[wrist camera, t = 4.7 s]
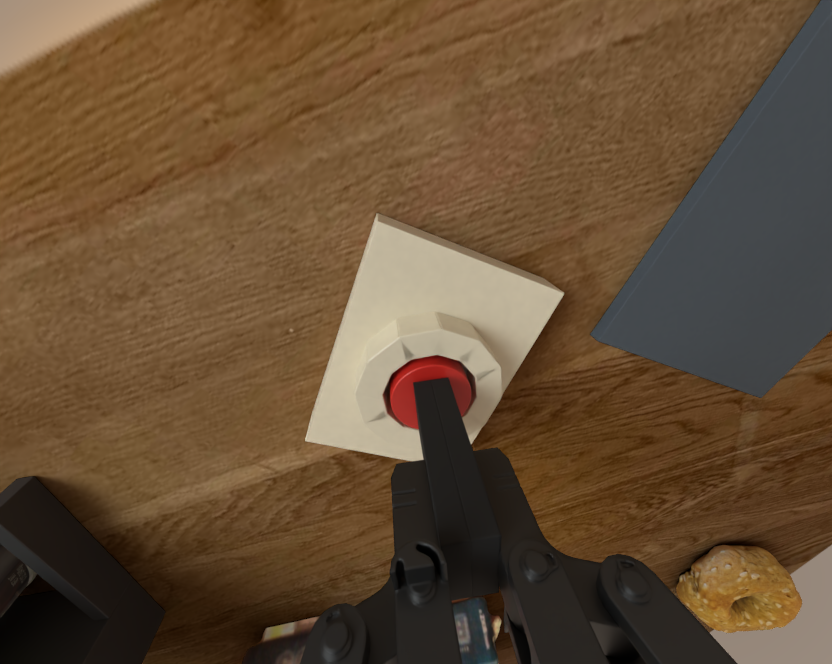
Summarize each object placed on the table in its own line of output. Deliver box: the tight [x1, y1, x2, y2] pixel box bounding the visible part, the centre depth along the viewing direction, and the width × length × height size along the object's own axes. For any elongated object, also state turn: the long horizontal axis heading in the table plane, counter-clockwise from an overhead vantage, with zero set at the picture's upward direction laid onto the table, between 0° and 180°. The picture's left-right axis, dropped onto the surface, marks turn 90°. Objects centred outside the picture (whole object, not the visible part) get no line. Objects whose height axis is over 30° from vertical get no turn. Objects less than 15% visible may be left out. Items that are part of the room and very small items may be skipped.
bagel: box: [676, 545, 802, 633], centre depth 32 cm, size 10×11×5 cm
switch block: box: [305, 213, 564, 461], centre depth 16 cm, size 12×9×4 cm
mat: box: [590, 0, 832, 398], centre depth 17 cm, size 18×14×1 cm
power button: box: [389, 355, 471, 429], centre depth 15 cm, size 4×4×2 cm
